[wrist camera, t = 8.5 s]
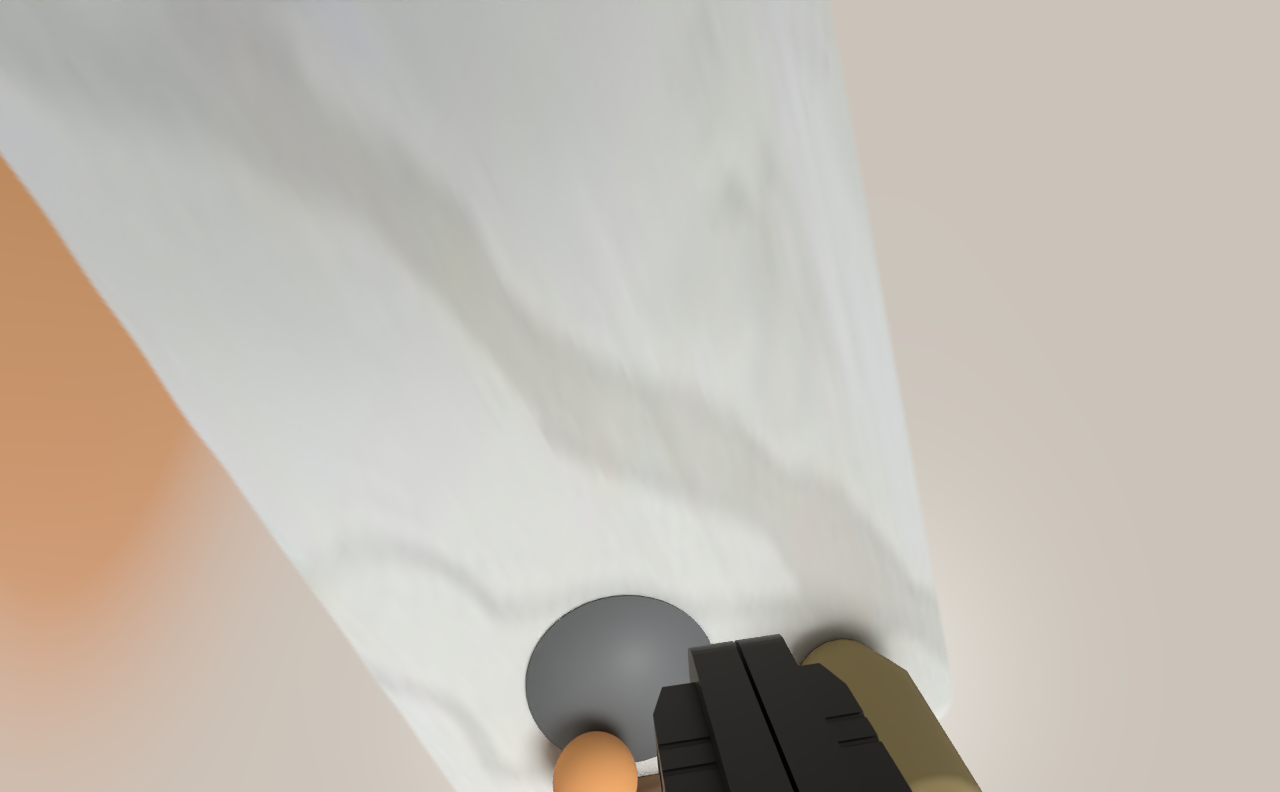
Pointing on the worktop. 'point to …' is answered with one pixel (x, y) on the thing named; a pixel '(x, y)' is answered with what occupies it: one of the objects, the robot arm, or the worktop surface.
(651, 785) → the strip
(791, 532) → the worktop surface
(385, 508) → the worktop surface
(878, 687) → the squeeze bottle
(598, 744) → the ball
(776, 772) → the robot arm
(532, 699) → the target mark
